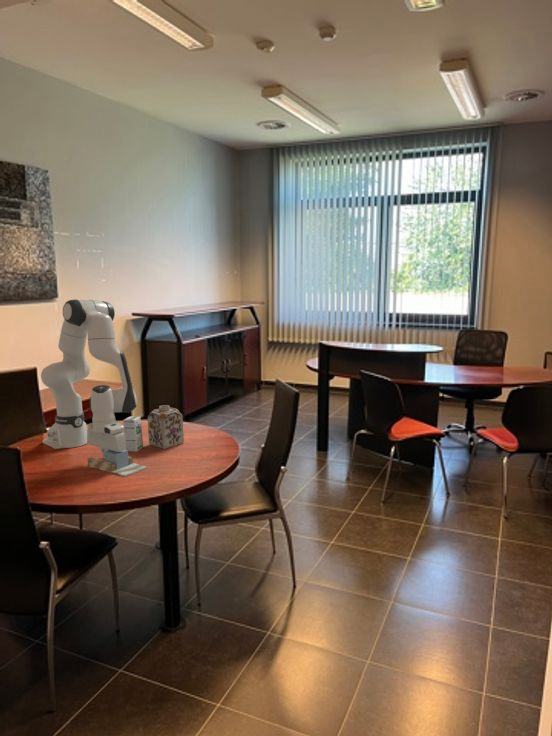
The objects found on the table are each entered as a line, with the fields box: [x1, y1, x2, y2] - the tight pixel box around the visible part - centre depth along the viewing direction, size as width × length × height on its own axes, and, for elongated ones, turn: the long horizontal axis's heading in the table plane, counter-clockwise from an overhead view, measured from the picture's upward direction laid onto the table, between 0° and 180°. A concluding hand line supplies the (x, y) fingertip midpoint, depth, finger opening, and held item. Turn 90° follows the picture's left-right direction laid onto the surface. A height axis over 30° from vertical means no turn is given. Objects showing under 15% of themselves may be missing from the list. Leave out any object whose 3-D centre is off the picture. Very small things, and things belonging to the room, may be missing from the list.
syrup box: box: [122, 415, 144, 452], centre depth 237 cm, size 6×6×14 cm
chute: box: [87, 455, 148, 477], centre depth 216 cm, size 23×11×3 cm, turn 56°
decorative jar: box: [147, 404, 185, 450], centre depth 243 cm, size 12×12×18 cm
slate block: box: [104, 449, 129, 469], centre depth 215 cm, size 7×6×6 cm
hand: (107, 458), depth 219 cm, fingers closed
